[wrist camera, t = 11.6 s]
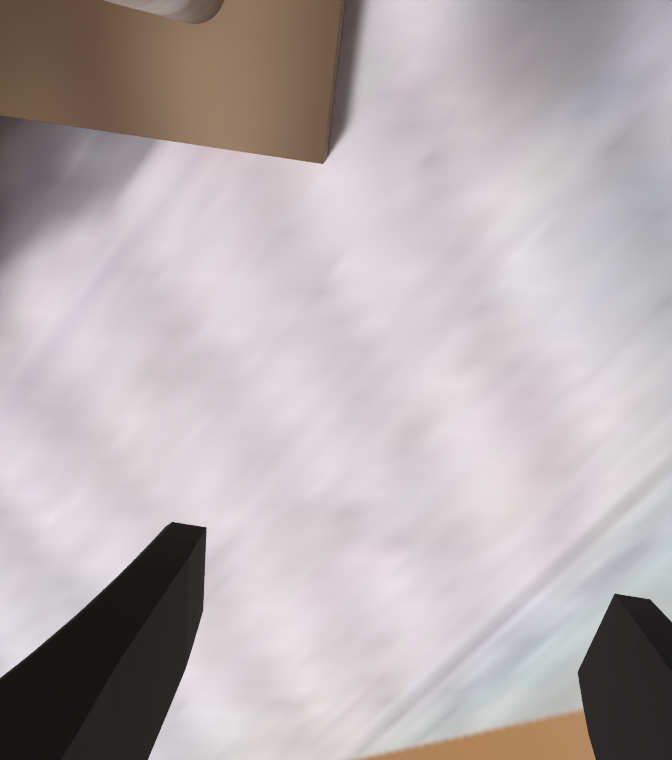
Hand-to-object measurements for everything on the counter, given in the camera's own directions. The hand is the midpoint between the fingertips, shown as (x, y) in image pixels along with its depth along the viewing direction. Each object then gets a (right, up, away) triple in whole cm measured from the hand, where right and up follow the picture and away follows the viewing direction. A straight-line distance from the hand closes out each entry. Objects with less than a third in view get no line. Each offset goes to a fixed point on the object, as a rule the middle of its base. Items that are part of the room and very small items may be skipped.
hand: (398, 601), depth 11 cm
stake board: (-6, +15, +4) cm, 16 cm away
